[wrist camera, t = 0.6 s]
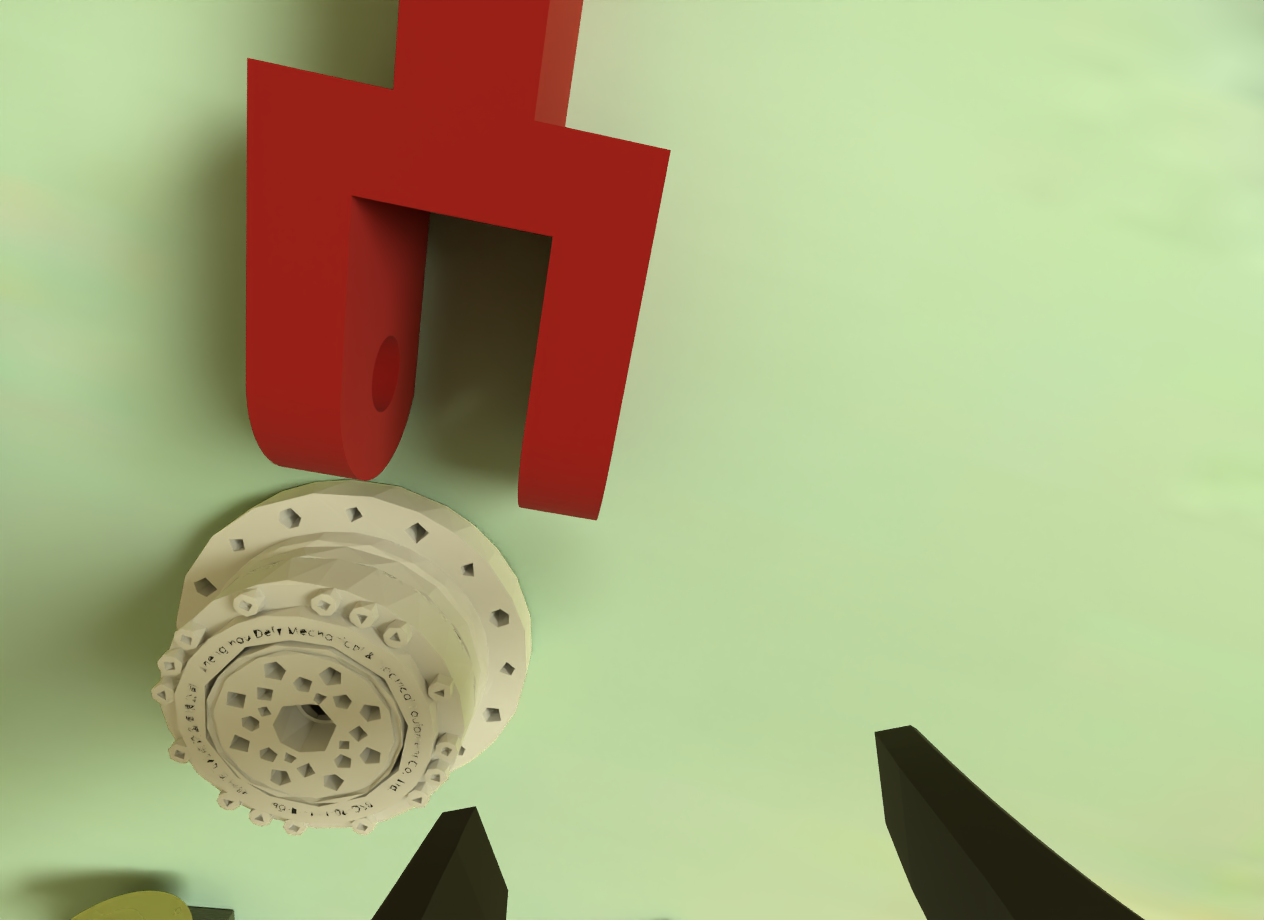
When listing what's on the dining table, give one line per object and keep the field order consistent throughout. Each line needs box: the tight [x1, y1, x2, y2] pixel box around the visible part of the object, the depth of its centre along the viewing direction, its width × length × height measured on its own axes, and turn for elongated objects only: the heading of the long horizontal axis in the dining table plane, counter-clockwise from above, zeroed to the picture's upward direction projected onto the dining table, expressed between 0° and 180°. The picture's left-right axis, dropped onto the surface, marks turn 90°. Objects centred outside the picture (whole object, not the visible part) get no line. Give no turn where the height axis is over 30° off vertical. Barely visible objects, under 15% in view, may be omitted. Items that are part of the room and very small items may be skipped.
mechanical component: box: [151, 480, 532, 835], centre depth 17 cm, size 10×4×10 cm
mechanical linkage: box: [246, 0, 671, 520], centre depth 13 cm, size 16×7×5 cm, turn 169°
